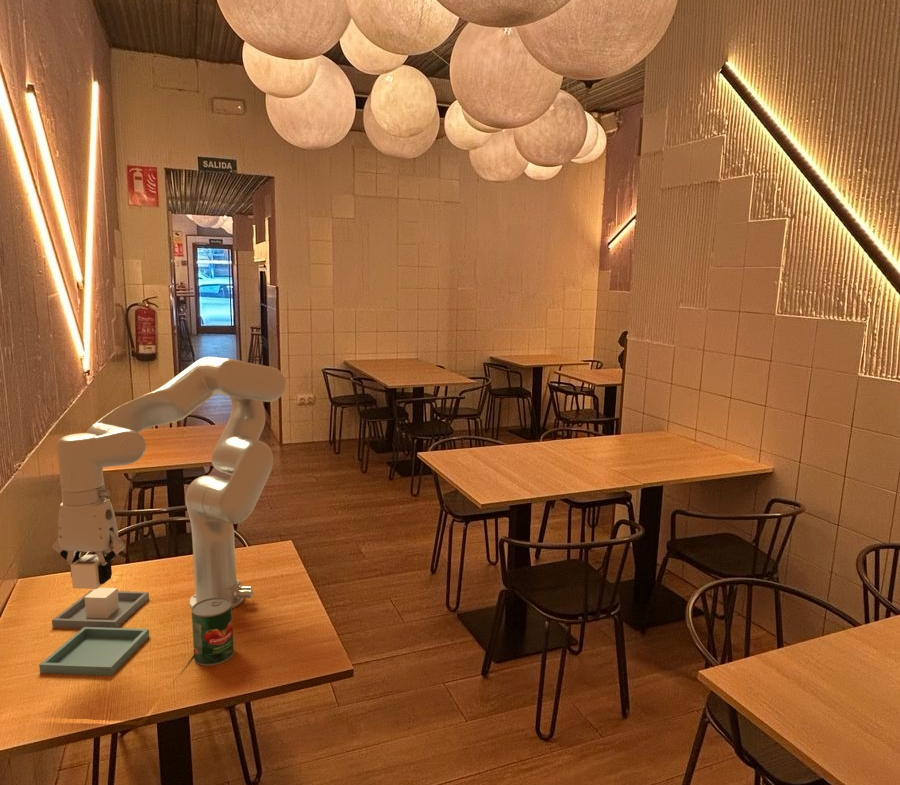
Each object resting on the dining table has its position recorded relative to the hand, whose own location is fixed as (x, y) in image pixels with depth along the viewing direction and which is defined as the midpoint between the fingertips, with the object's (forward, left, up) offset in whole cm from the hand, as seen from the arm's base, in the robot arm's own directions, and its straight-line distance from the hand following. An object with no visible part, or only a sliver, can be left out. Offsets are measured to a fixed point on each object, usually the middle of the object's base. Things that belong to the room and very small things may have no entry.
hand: (92, 579), depth 133 cm
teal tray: (0, 0, -17) cm, 17 cm away
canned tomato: (-24, -2, -17) cm, 29 cm away
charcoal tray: (+9, -17, -17) cm, 26 cm away
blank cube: (+9, -17, -16) cm, 25 cm away
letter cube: (0, 0, -1) cm, 1 cm away
